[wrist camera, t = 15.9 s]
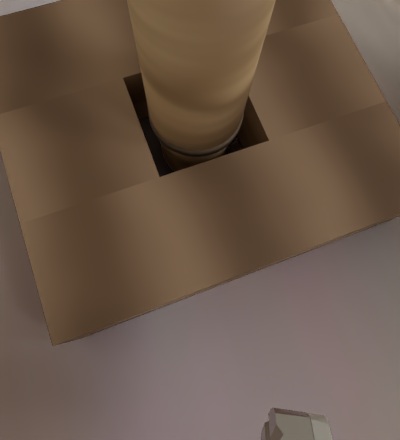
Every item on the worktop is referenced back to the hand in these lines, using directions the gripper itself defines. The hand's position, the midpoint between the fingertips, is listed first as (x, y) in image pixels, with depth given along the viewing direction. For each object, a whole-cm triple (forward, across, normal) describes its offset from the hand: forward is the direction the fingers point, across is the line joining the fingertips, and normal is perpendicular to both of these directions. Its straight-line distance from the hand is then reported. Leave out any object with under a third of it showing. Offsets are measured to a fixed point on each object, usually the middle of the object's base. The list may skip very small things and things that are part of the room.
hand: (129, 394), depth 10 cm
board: (+14, 0, -3) cm, 14 cm away
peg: (+14, 0, -3) cm, 14 cm away
